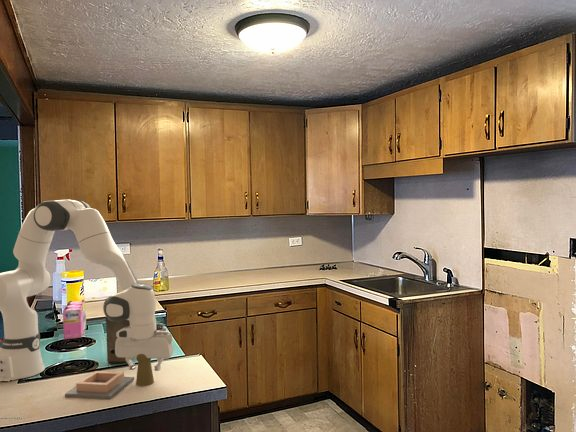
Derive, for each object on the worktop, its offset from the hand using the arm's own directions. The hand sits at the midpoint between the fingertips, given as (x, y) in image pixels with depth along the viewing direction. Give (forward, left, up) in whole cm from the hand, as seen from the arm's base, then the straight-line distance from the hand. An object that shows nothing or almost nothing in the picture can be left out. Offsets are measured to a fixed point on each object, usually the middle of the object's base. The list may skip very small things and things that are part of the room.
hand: (144, 369), depth 163 cm
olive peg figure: (0, 0, -5) cm, 5 cm away
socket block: (-13, -6, -5) cm, 15 cm away
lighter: (-14, +39, -5) cm, 42 cm away
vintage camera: (-21, +24, -5) cm, 32 cm away
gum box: (-65, +56, -5) cm, 86 cm away
